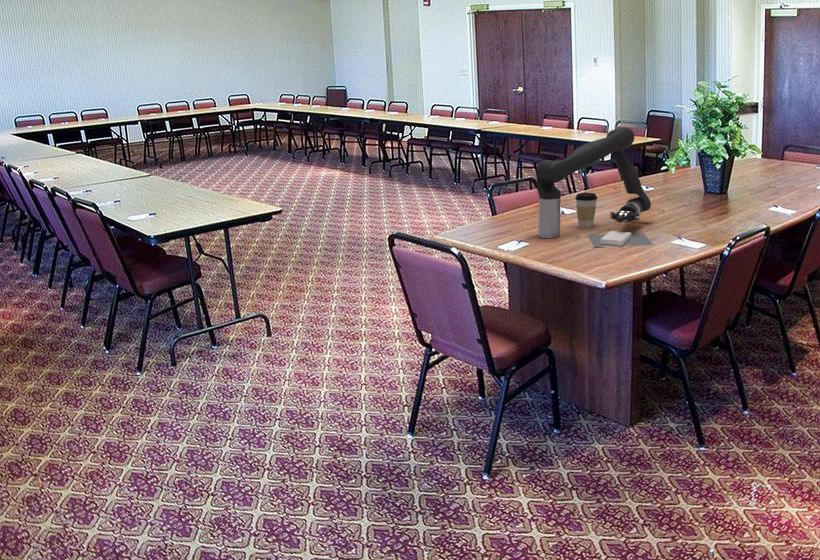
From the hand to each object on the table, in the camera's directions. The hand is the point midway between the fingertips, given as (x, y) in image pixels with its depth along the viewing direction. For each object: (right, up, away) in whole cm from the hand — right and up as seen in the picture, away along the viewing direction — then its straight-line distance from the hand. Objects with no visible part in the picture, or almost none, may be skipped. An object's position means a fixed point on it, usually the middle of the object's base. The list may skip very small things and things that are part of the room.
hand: (619, 220), depth 327 cm
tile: (+2, -6, +4) cm, 7 cm away
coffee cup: (-8, -1, +28) cm, 29 cm away
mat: (0, -9, 0) cm, 9 cm away
